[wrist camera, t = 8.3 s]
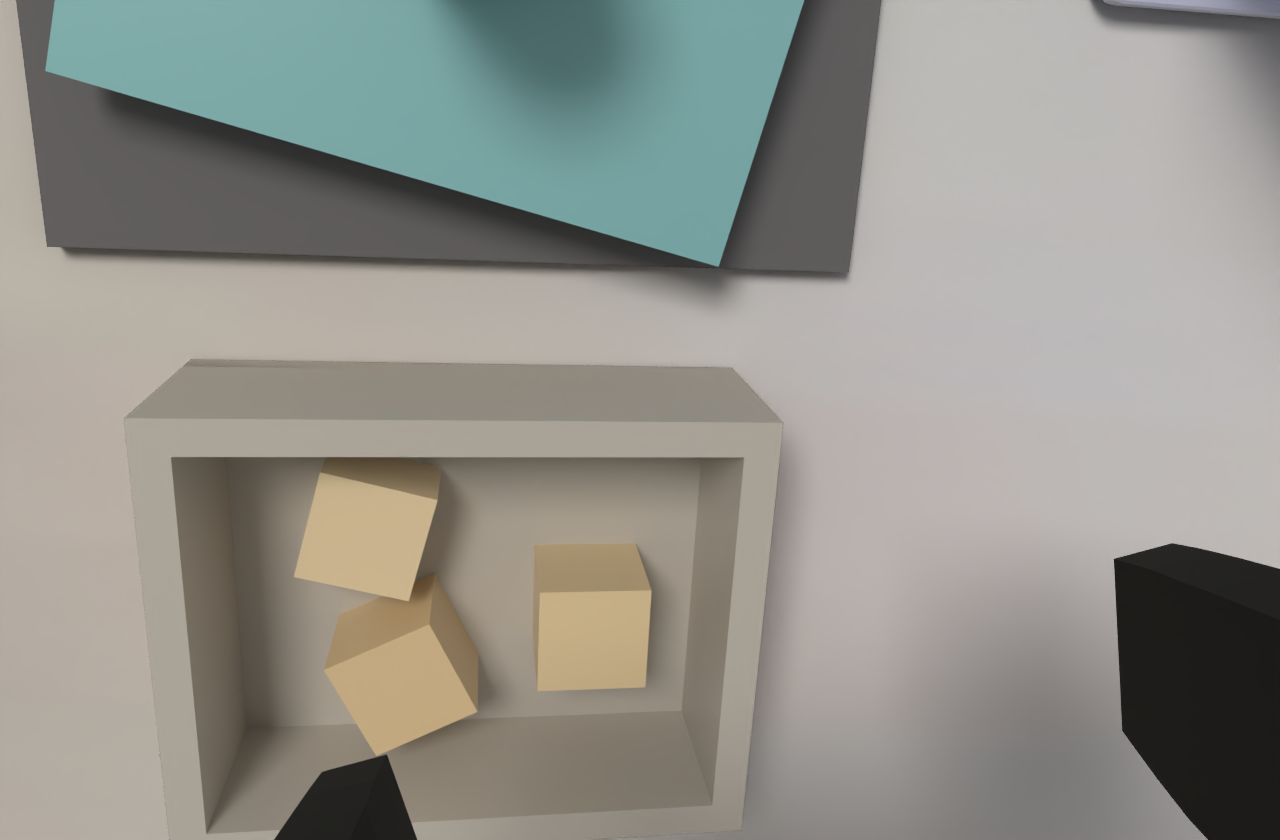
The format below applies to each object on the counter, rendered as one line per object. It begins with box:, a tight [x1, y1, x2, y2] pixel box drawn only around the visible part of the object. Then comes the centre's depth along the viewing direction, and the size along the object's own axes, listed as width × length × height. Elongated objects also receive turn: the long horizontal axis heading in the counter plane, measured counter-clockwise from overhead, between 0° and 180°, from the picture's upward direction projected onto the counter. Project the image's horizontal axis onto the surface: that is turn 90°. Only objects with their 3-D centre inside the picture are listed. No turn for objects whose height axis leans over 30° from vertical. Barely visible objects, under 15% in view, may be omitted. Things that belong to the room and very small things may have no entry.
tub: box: [124, 359, 783, 840], centre depth 18 cm, size 10×8×4 cm
